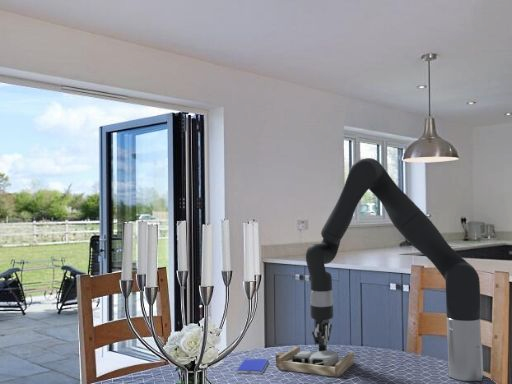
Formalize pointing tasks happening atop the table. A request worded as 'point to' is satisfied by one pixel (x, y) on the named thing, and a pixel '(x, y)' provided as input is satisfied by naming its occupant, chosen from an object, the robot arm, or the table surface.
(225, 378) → the table surface
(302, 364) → the wooden tray
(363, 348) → the table surface
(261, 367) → the hard drive
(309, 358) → the robot toy
